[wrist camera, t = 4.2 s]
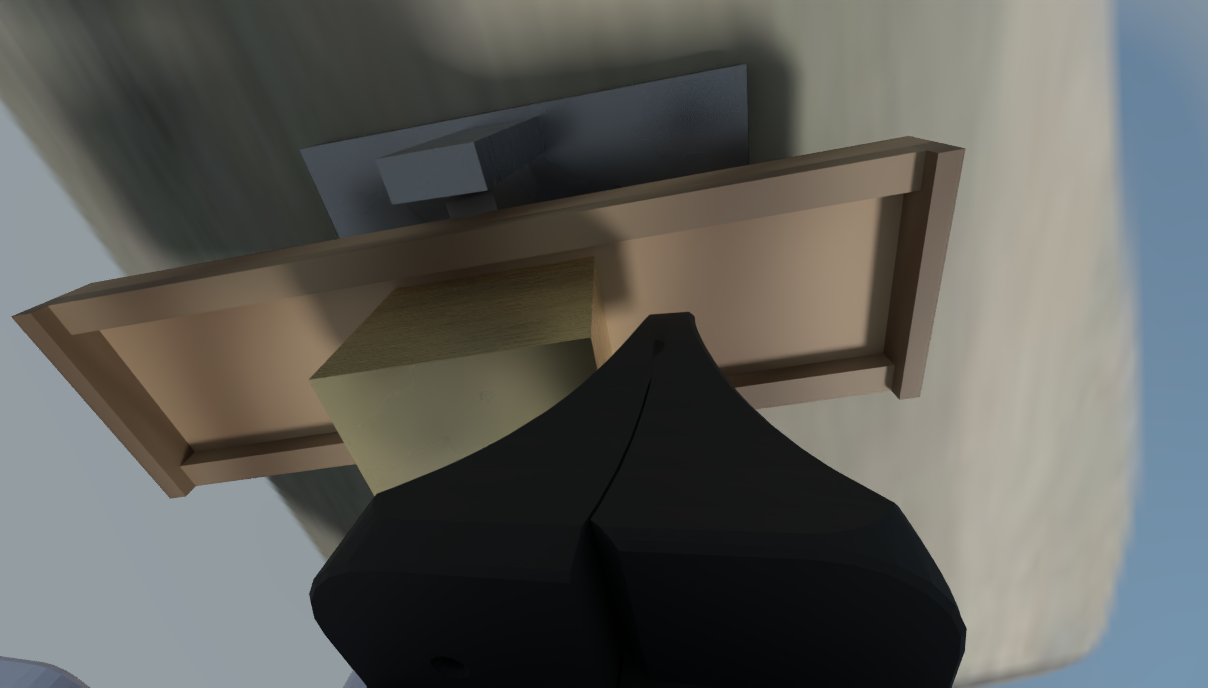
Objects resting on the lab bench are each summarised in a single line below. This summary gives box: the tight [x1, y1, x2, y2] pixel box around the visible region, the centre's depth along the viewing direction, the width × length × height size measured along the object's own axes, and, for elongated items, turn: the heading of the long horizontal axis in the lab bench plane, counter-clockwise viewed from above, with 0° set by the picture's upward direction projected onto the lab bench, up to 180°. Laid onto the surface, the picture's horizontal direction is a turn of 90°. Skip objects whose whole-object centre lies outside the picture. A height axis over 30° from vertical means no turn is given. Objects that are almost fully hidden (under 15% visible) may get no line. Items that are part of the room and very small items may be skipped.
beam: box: [12, 136, 965, 498], centre depth 13 cm, size 21×7×3 cm, turn 100°
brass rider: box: [309, 256, 613, 496], centre depth 11 cm, size 4×5×4 cm
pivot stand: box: [299, 64, 749, 238], centre depth 15 cm, size 10×14×5 cm
